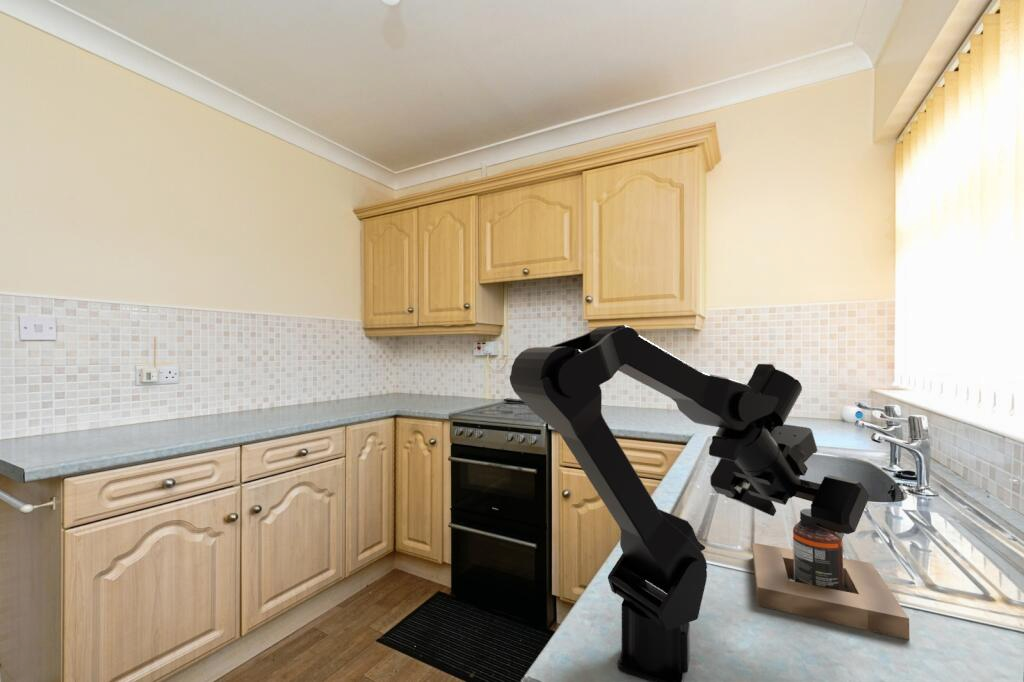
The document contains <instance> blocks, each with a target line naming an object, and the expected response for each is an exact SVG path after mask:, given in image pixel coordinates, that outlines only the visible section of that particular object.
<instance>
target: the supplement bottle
mask: <svg viewBox="0 0 1024 682" xmlns="http://www.w3.org/2000/svg"><path fill="white" fill-rule="evenodd" d="M799 513H800V514H799V515H800V516H799V519H800V520H799V521H798V522H797V523H796V524H794V526H793V531H792V543H793V544H792V545H793V547H792V548H793V549H792V550H793V553H794V554H793V556H794V576H793V579H794V580H793V581H794V582H799V583H804V584H809V585H814V586H819V587H824V588H829V589H834V590H840V591H845V585H844V579H843V558H844V555H843V554H844V550H843V548H844V546H843V538H842V539H841V538H838V537H836V536H834V535H832V534H831V533H829V532H827V531H825V530H823V529H822V528H820V527H818V526H817V525H816V524H817V522H816V521H814V519H813V518H812V517H811V508H803V509H801V510H800V511H799Z"/></svg>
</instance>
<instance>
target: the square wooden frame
mask: <svg viewBox="0 0 1024 682" xmlns="http://www.w3.org/2000/svg"><path fill="white" fill-rule="evenodd" d="M793 554H794V553H793V549H792V548H785V547H780V546H774V545H769V544H762V543H756V542H752V562H753V573H754V581H755V591H756V601H757V602H756V603H757V606H758V607H762V608H765V609H771V610H774V611H780V612H783V613H788V614H794V615H798V616H803V617H805V618H811V619H814V620H815V619H816V620H818V621H819V620H820V621H824V622H829V623H833V624H836V625H843V626H845V627H846V626H847V627H852V628H856V629H860V630H865V631H869V632H873V633H874V632H875V633H878V634H882V635H888V636H892V637H896V638H901V639H905V640H910V618H909V616H908V615H907V613H906V612H905V610H904V609H903V607H902V606H901V604H900V602H899V600H897V599H896V597H895V595H894V594H893V592H892V591H891V590H890V587H889V585H887V583H886V582H885V580H884V579H883V577H882V576H881V574H880V573H879V572H878V570H877V568H876V567H875V566H874V564H873V562H867V561H862V560H856V559H852V558H844V557H843V579H844V587H846V588H847V589H846V590H847V591H845V590H844V591H840V590H834V589H829V588H824V587H819V586H814V585H809V584H804V583H799V582H794V580H789V578H788V577H789V576H792V577H794V556H793ZM788 575H789V576H788Z"/></svg>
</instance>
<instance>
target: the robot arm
mask: <svg viewBox="0 0 1024 682" xmlns="http://www.w3.org/2000/svg"><path fill="white" fill-rule="evenodd" d="M617 372H620V373H622V374H624V375H627V376H628V377H630V378H631V379H634V380H635V381H637V382H639V383H641V384H643V385H644V386H647V387H649V388H651V389H653V390H655V391H656V392H659V393H661V394H662V395H664V396H666V397H668V398H669V399H670V400H672V401H674V402H675V403H676V407H677V409H678V410H679V412H680V413H682V414H683V415H684V416H685V417H687V418H688V419H689V420H691V421H692V422H693V423H694V424H698V425H703V426H709V427H714V428H715V427H716V428H718V429H717V430H716V432H715V435H712V437H711V444H709V447H708V455H709V456H711V457H715V458H718V459H720V460H719V461H718V463H717V464H716V466H715V468H714V470H713V471H712V473H711V475H710V476H709V477H710V478H709V479H710V480H709V482H710V486H711V487H712V488H713V490H714V491H715V492H716V493H717V494H720V495H723V496H725V497H726V498H729V499H732V500H733V501H736V502H738V503H739V504H740V503H741V504H743V505H745V506H748V507H750V508H752V509H755V510H756V511H759V512H762V513H764V514H767V515H769V516H771V517H774V516H775V515H776V513H777V509H776V507H775V505H774V503H777V504H780V505H784V506H786V505H787V503H788V501H789V500H790V499H792V498H793V497H794V498H797V499H798V498H799V499H800V500H801V499H802V500H806V501H809V502H811V505H810V509H811V517H812V518H813V519H814V521H816V522H817V524H816V525H817V526H818V527H820V528H822V529H823V530H825V531H827V532H829V533H831V534H832V535H834V536H836V537H838V538H841V539H842V540H843V538H844V537H845V535H850V534H853V533H855V532H856V530H857V527H858V525H859V524H860V523H859V522H860V520H861V519H862V515H863V513H864V511H865V509H866V507H867V504H868V502H869V499H870V497H871V496H870V495H869V493H868V491H867V489H866V488H865V486H864V485H863V483H862V482H861V481H857V480H852V479H847V478H844V477H838V476H835V475H831V474H830V475H826V476H824V477H823V479H822V481H821V483H818V482H814V481H809V480H806V479H801V478H800V477H801V476H805V475H806V473H807V471H808V470H809V468H808V466H807V465H806V464H805V462H807V461H808V460H809V459H810V458H811V457H812V456H813V455H814V454H816V453H817V452H818V447H817V444H816V441H815V436H814V433H813V430H812V429H811V428H810V427H806V426H805V427H804V426H800V425H799V426H798V425H792V424H791V425H790V424H785V422H786V420H787V419H788V417H789V415H790V413H791V411H792V409H793V408H794V406H795V404H796V403H797V400H798V398H799V396H800V394H801V393H802V390H803V387H802V384H801V382H800V380H798V379H796V378H795V377H794V376H791V375H790V374H788V373H786V372H785V371H782V370H779V369H776V367H775V366H774V364H772V363H757V365H756V366H755V368H754V371H753V373H752V375H751V377H750V378H749V380H748V382H747V383H746V382H742V381H740V380H735V379H733V378H730V377H724V376H721V375H715V374H709V373H706V372H703V371H701V370H699V369H697V368H696V367H694V366H692V365H691V364H689V363H688V362H686V361H684V360H682V359H680V358H678V357H677V356H675V355H673V354H672V353H670V352H669V351H667V350H665V349H663V348H661V347H660V346H658V345H657V344H655V343H653V342H651V341H650V340H648V339H647V338H644V337H643V336H641V335H640V334H639V333H638V332H637V330H635V329H634V328H632V327H630V326H628V325H625V324H622V325H621V324H620V325H609V326H608V325H607V326H598V327H596V328H594V329H592V330H590V331H589V332H587V333H585V334H583V335H579V336H577V337H574V338H570V339H568V340H565V341H562V342H558V343H556V344H554V345H551V346H536V347H530V348H526V349H524V350H523V351H521V352H520V353H519V354H518V355H517V356H516V357H515V359H514V361H513V364H512V366H511V370H510V375H509V381H510V386H511V388H512V389H513V392H514V393H515V394H516V395H517V396H518V397H519V399H521V401H522V402H523V403H524V404H525V405H526V406H527V408H528V409H530V411H531V412H532V413H534V414H535V415H537V417H539V418H540V419H541V420H542V421H543V422H545V423H546V424H547V425H549V427H551V428H552V429H554V430H555V431H556V432H557V434H558V435H560V437H561V438H562V440H563V441H564V443H565V444H566V446H567V447H568V450H569V451H570V453H571V454H572V455H573V457H574V458H575V460H576V462H577V463H578V465H579V466H580V468H581V469H582V471H583V472H584V474H585V476H586V477H587V479H588V480H589V482H590V483H591V485H592V486H593V488H594V490H595V491H596V492H597V495H598V496H599V497H600V499H601V501H602V502H603V503H604V505H605V507H606V508H607V510H608V511H609V513H610V514H611V516H612V518H613V519H614V521H615V523H616V524H617V525H618V527H619V530H620V539H619V543H620V548H621V551H622V554H621V555H620V557H619V558H618V560H617V561H616V563H615V565H614V566H613V568H612V569H611V571H610V572H609V574H608V576H607V580H608V584H609V587H610V590H611V592H612V593H614V594H615V595H617V596H619V597H620V598H622V602H621V653H620V655H619V657H618V662H617V669H618V671H621V672H623V673H627V674H630V675H633V676H635V677H640V678H642V679H645V680H647V681H648V680H649V681H652V682H683V678H684V674H687V673H688V672H689V666H690V657H691V655H690V654H691V653H690V651H691V649H690V647H691V646H690V645H691V643H690V641H691V640H690V627H691V626H690V623H691V622H693V621H696V620H698V618H699V615H700V610H701V607H702V601H703V597H704V593H705V589H706V588H705V587H706V584H707V578H708V571H707V569H708V564H707V560H706V558H705V557H706V556H705V555H704V553H703V552H702V551H704V550H705V549H706V546H705V545H703V544H702V543H701V542H700V541H699V540H698V538H697V536H696V533H695V529H694V528H693V527H692V525H691V524H690V522H689V521H688V520H686V519H684V518H681V517H679V516H676V515H674V514H672V513H669V512H666V511H664V510H661V509H659V508H658V506H657V505H656V503H655V502H654V500H653V497H652V496H651V495H650V493H649V491H648V489H647V488H646V486H645V485H644V482H642V480H641V478H640V476H639V475H638V473H637V471H636V470H635V468H634V466H633V464H632V462H631V461H630V459H629V458H628V457H627V455H626V452H624V450H623V448H622V446H621V445H620V443H619V441H618V440H617V438H616V436H615V435H614V433H613V431H612V430H611V428H610V427H609V425H608V423H607V422H606V420H605V418H604V415H603V414H602V400H603V399H602V395H603V394H602V388H601V385H602V384H604V383H606V382H608V381H609V380H611V379H612V378H613V377H614V376H615V375H616V373H617ZM773 502H774V503H773Z"/></svg>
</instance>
